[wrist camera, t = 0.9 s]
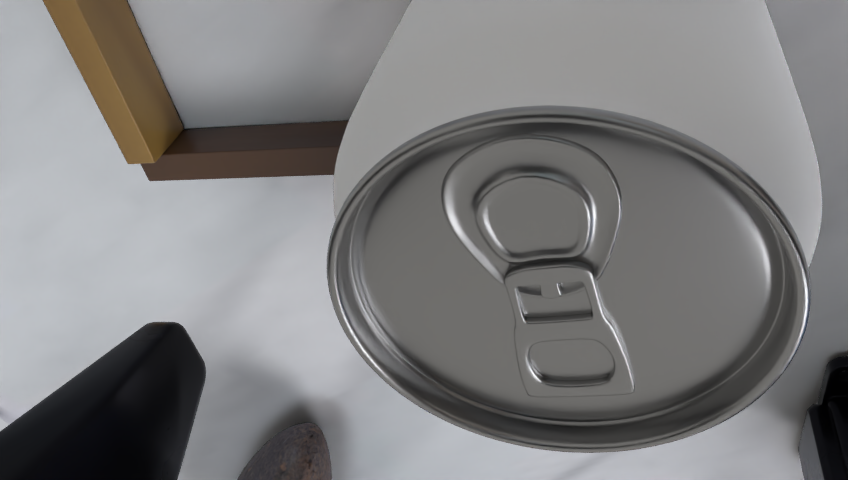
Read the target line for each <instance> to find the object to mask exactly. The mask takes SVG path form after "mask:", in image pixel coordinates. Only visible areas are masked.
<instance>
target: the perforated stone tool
mask: <svg viewBox="0 0 848 480" xmlns="http://www.w3.org/2000/svg"><path fill="white" fill-rule="evenodd" d="M237 480H332V472H331V462H330V455H329V449H328V446H327V443H326V440H325V437H324V435H323V433H322V431H321V429H320V428H319V427H318V426H317V425H315V424H313V423H308V422H307V423H303V424H302V423H301V424H298V425H294V426H291V427H289V428H287V429H285V430H283V431H282V432H280V433H278V434H277V435H275V436H274V437H273V438H272V439H271V440H269V441H268V442H267V443H266V444H265V445H264V446H263V447H262V448H261V449H260V450H259V451H258V452H257V453H256V454H255V455H254V456H253V458H252V459H251V460H250V461H249V463H248V464H247V465H246V467H245V468H244V470H243V471H242V473H241V474H240V476H239V477H238V479H237Z"/></svg>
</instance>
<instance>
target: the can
mask: <svg viewBox="0 0 848 480" xmlns="http://www.w3.org/2000/svg"><path fill="white" fill-rule="evenodd" d="M333 197H334V213H335V220H336V221H335V223H334V226H333V229H332V233H331V236H330V241H329V246H328V253H327V279H328V286H329V292H330V296H331V300H332V303H333V307H334V310H335V312H336V315H337V317H338V320H339V322H340V324H341V326H342V328H343V330H344V332H345V333H346V335H347V337H348V338H349V340H350V342H351V343H352V345H353V346H354V347H355V349H356V350H357V352H358V353H359V354H360V355H361V357H362V358H363V359H364V360H365V362H366V363H367V364H368V365H369V366H370V367H371V368H372V369H373V370H374V371H375V372H376V373H377V374H378V375H379V376H380V377H381V378H382V379H383V380H384V381H385V382H386V383H388V384H389V385H390V386H391V387H392V388H394V389H395V390H396V391H397V392H399V393H400V394H401V395H403V396H404V397H406V398H407V399H408V400H410V401H411V402H413V403H414V404H416V405H418V406H419V407H421V408H423V409H424V410H426V411H428V412H429V413H431V414H433V415H435V416H437V417H439V418H441V419H443V420H445V421H447V422H449V423H451V424H454V425H456V426H458V427H461V428H463V429H466V430H468V431H471V432H474V433H476V434H479V435H482V436H485V437H488V438H492V439H495V440H499V441H503V442H506V443H511V444H515V445H520V446H525V447H530V448H536V449H543V450H551V451H562V452H581V453H596V452H616V451H626V450H634V449H641V448H647V447H652V446H657V445H661V444H665V443H669V442H673V441H677V440H680V439H683V438H686V437H689V436H692V435H695V434H697V433H700V432H702V431H705V430H707V429H709V428H712V427H714V426H716V425H718V424H720V423H722V422H724V421H725V420H727V419H729V418H731V417H732V416H734V415H736V414H737V413H739V412H740V411H742V410H744V409H745V408H746V407H748V406H749V405H750V404H752V403H753V402H754V401H756V400H757V399H758V398H759V397H760V396H762V395H763V394H764V393H765V392H766V391H767V390H768V389H769V388H770V387H771V386H772V385H773V384H774V383H775V382H776V381H777V380H778V378H779V377H780V376H781V375H782V373H783V372H784V371H785V370H786V368H787V367H788V365H789V364H790V362H791V361H792V359H793V357H794V356H795V354H796V352H797V350H798V348H799V346H800V343H801V341H802V339H803V336H804V333H805V330H806V326H807V323H808V317H809V311H810V302H811V285H810V276H809V271H808V269H809V266H810V264H811V261H812V258H813V255H814V252H815V248H816V244H817V241H818V237H819V232H820V227H821V219H822V189H821V180H820V173H819V166H818V160H817V156H816V152H815V148H814V145H813V141H812V138H811V134H810V131H809V128H808V124H807V121H806V118H805V115H804V112H803V109H802V106H801V103H800V100H799V97H798V94H797V91H796V88H795V85H794V82H793V79H792V76H791V73H790V71H789V68H788V65H787V62H786V59H785V56H784V54H783V51H782V48H781V45H780V42H779V39H778V37H777V34H776V31H775V28H774V25H773V22H772V20H771V17H770V14H769V11H768V9H767V6H766V3H765V0H412V1H411V2H410V4H409V6H408V8H407V10H406V11H405V13H404V15H403V17H402V19H401V21H400V23H399V24H398V26H397V28H396V30H395V32H394V34H393V35H392V37H391V39H390V41H389V43H388V45H387V47H386V48H385V50H384V52H383V54H382V56H381V58H380V60H379V61H378V63H377V65H376V67H375V69H374V71H373V73H372V75H371V77H370V78H369V80H368V82H367V84H366V86H365V88H364V90H363V92H362V94H361V96H360V98H359V100H358V102H357V105H356V107H355V109H354V111H353V113H352V115H351V117H350V119H349V122H348V124H347V127H346V130H345V133H344V136H343V139H342V142H341V145H340V148H339V152H338V155H337V160H336V165H335V172H334V183H333Z"/></svg>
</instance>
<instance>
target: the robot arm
mask: <svg viewBox="0 0 848 480" xmlns="http://www.w3.org/2000/svg"><path fill="white" fill-rule="evenodd" d="M205 378H206V367H205V363H204V361H203V359H202V357H201V355H200V354H199V352H198V350H197V349H196V347H195V345H194V343H193V342H192V340H191V338H190V337H189V335H188V333H187V331H186V330H185V328H184V327H183V326H182V325H180V324H179V323H176V322H152V323H149V324H146V325H145V326H143V327H142V328H140V329H139V330H138V331H136V332H135V333H134V334H132V335H131V336H130V337H128V338H127V339H126V340H124V341H123V342H121V343H120V344H119V345H117V346H116V347H115V348H113V349H112V350H111V351H109V352H108V353H106V354H105V355H104V356H102V357H101V358H100V359H98V360H97V361H96V362H94V363H93V364H92V365H90V366H89V367H87V368H86V369H85V370H83V371H82V372H81V373H79V374H78V375H77V376H75V377H74V378H72V379H71V380H70V381H68V382H67V383H66V384H64V385H63V386H62V387H60V388H59V389H57V390H56V391H55V392H53V393H52V394H51V395H49V396H48V397H47V398H45V399H44V400H42V401H41V402H40V403H38V404H37V405H36V406H34V407H33V408H32V409H30V410H29V411H28V412H26V413H25V414H23V415H22V416H21V417H19V418H18V419H17V420H15V421H14V422H13V423H11V424H10V425H8V426H7V427H6V428H4V429H3V430H2V431H0V480H177V479H178V475H179V472H180V469H181V466H182V462H183V458H184V455H185V451H186V448H187V444H188V440H189V437H190V433H191V430H192V426H193V422H194V419H195V415H196V412H197V408H198V404H199V401H200V397H201V394H202V390H203V386H204V383H205ZM798 451H799V456H800V461H801V466H802V471H803V476H804V480H848V356H845V357H838V358H835V359H833V360H831V361H830V362H829V363H828V365H827V367H826V371H825V375H824V379H823V383H822V387H821V391H820V395H819V399H818V403H817V404H813V405H812V406H811V407H810V408H809V409H808V410H807V414H806V418H805V422H804V426H803V431H802V435H801V439H800V443H799V448H798Z"/></svg>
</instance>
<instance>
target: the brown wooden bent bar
mask: <svg viewBox="0 0 848 480" xmlns="http://www.w3.org/2000/svg"><path fill="white" fill-rule="evenodd" d="M43 2H44V4H45V6H46V8H47V10H48V11H49V13H50V15H51V17H52V19H53V21H54V23H55V25H56V27H57V29H58V31H59V33H60V34H61V36H62V38H63V40H64V42H65V44H66V46H67V48H68V50H69V52H70V54H71V56H72V58H73V59H74V61H75V63H76V65H77V67H78V69H79V71H80V73H81V75H82V77H83V79H84V81H85V82H86V84H87V86H88V88H89V90H90V92H91V94H92V96H93V98H94V100H95V102H96V104H97V105H98V107H99V109H100V111H101V113H102V115H103V117H104V119H105V121H106V123H107V125H108V127H109V129H110V130H111V132H112V134H113V136H114V138H115V140H116V142H117V144H118V146H119V148H120V150H121V152H122V153H123V155H124V157H125V159H126V161H127V163H128V164H141V166H142V168H143V170H144V171H145V173H146V175H147V177H148V179H149V181H165V180H194V179H222V178H251V177H280V176H308V175H334V172H335V165H336V160H337V155H338V152H339V148H340V145H341V142H342V139H343V136H344V133H345V130H346V127H347V124H348V122H349V120H348V121H330V122H313V123H295V124H277V125H260V126H242V127H224V128H207V129H189V130H184V128H183V125H182V123H181V121H180V119H179V117H178V114H177V112H176V110H175V108H174V105H173V103H172V101H171V99H170V96H169V94H168V92H167V90H166V87H165V85H164V83H163V81H162V79H161V76H160V74H159V72H158V70H157V67H156V65H155V63H154V61H153V58H152V56H151V54H150V52H149V49H148V47H147V45H146V43H145V41H144V38H143V36H142V34H141V32H140V29H139V27H138V25H137V23H136V20H135V18H134V16H133V14H132V12H131V9H130V7H129V5H128V3H127V0H43Z"/></svg>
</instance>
